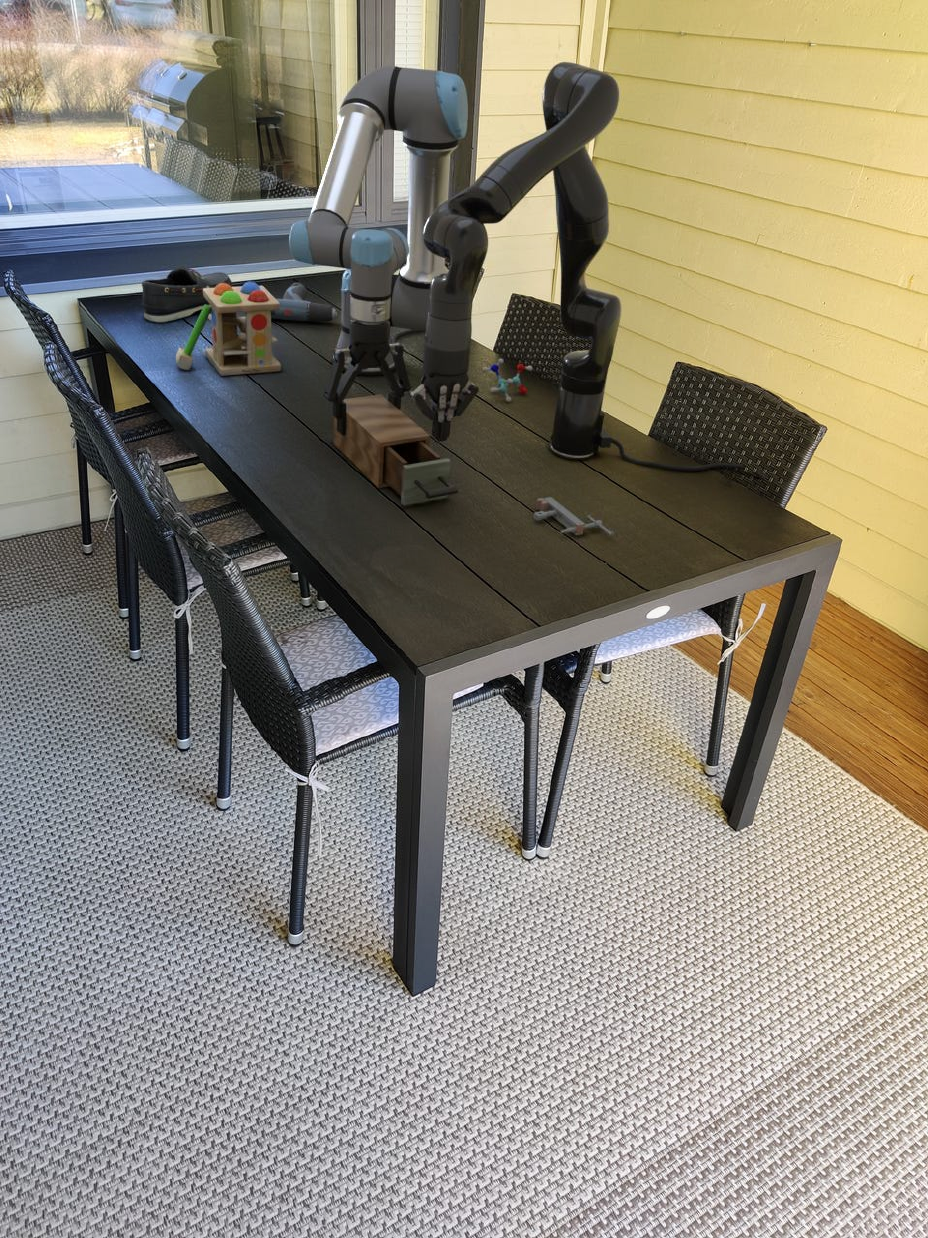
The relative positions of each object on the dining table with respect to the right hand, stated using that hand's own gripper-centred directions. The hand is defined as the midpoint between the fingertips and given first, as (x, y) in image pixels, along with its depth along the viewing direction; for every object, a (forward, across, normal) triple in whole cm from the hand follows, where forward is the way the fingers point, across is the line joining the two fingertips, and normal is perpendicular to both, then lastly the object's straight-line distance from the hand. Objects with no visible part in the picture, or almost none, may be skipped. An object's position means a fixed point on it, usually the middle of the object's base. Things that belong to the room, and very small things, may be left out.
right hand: (440, 439), depth 170 cm
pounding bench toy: (+15, -11, +82) cm, 84 cm away
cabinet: (+15, 0, +24) cm, 28 cm away
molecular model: (+15, +43, +46) cm, 64 cm away
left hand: (+10, 0, +29) cm, 31 cm away
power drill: (+15, +22, +114) cm, 117 cm away
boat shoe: (+15, -6, +127) cm, 128 cm away
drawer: (+14, 0, +11) cm, 17 cm away
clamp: (+15, +20, -13) cm, 28 cm away
